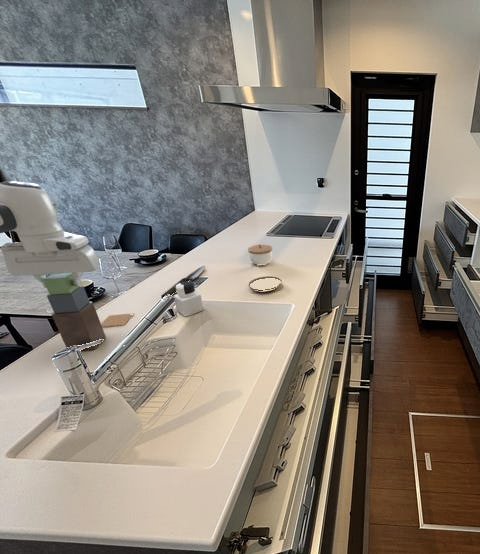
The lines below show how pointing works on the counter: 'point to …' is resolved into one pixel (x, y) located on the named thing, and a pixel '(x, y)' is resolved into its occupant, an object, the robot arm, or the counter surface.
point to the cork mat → (116, 320)
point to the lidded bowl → (260, 254)
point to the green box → (60, 283)
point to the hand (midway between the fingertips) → (63, 286)
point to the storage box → (80, 327)
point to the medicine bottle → (188, 299)
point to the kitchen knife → (191, 276)
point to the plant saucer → (264, 278)
